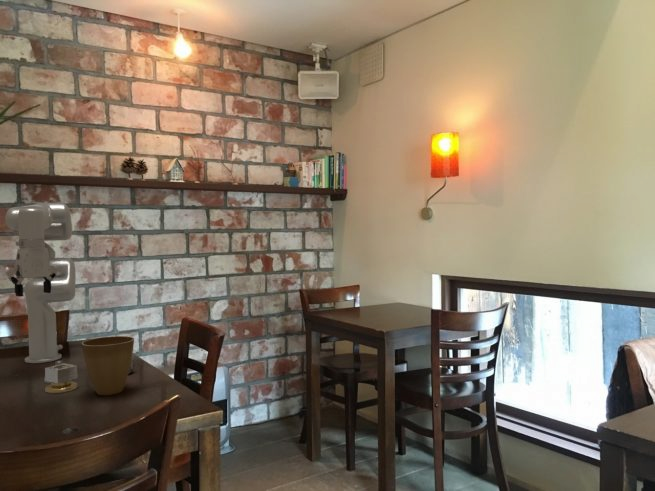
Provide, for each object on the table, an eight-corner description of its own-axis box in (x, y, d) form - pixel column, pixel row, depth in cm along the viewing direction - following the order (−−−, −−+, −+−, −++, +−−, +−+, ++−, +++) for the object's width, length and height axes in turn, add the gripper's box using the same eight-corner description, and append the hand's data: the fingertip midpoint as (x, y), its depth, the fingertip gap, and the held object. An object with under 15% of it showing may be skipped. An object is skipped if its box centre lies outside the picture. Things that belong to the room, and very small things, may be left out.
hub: (56, 384, 171) (55, 365, 171) (82, 384, 170) (82, 365, 170) (38, 393, 162) (38, 373, 162) (66, 393, 161) (66, 373, 161)
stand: (54, 375, 182) (54, 357, 182) (79, 375, 181) (79, 358, 181) (38, 383, 173) (37, 364, 173) (64, 383, 172) (63, 364, 172)
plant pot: (145, 388, 165) (144, 338, 165) (104, 402, 152) (102, 347, 152) (114, 382, 173) (113, 333, 172) (72, 394, 160) (71, 342, 160)
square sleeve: (45, 380, 165) (45, 367, 165) (64, 375, 171) (64, 363, 171) (57, 383, 162) (57, 370, 162) (77, 378, 167) (76, 365, 167)
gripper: (12, 245, 171) (14, 298, 172) (62, 243, 186) (63, 292, 187) (-1, 245, 175) (1, 296, 175) (49, 243, 190) (51, 291, 190)
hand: (33, 294), depth 181 cm, fingers open, 9 cm apart
